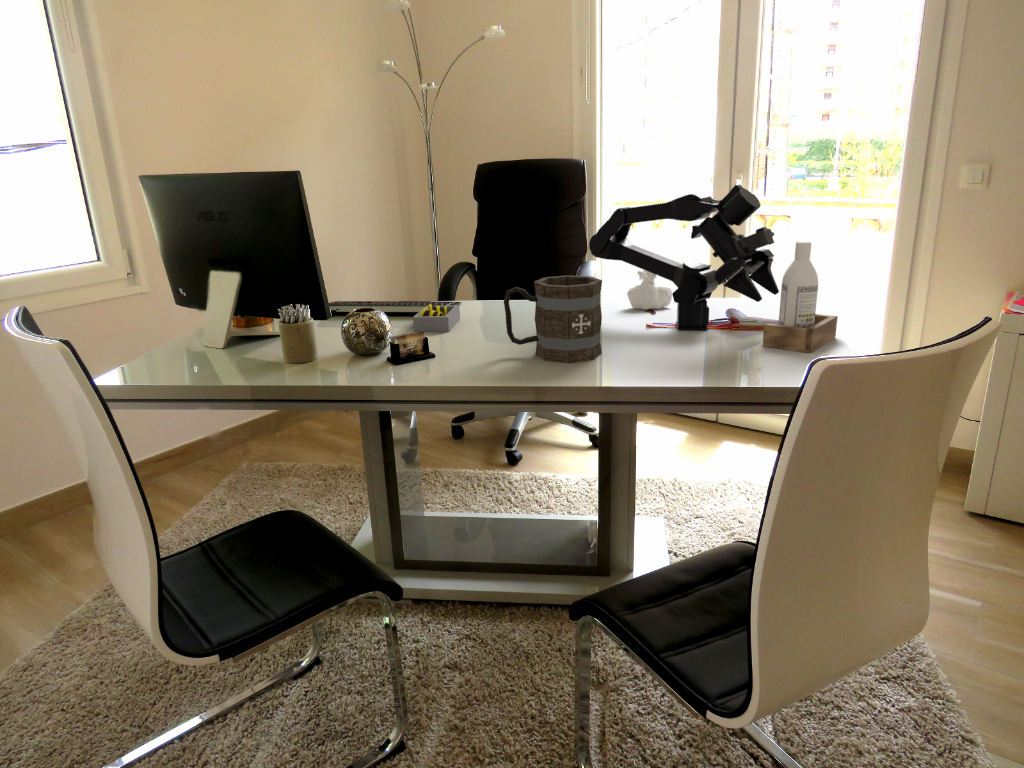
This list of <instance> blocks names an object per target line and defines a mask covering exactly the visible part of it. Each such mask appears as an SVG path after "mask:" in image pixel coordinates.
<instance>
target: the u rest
mask: <svg viewBox="0 0 1024 768" xmlns="http://www.w3.org/2000/svg"><path fill="white" fill-rule="evenodd" d="M837 325H838V315H831V314H830V315H828V314H820V313H819V314H818V313H815V322H814V326H812V327H810V328H801V327H792V326H784V325H778V324H775V323H764V324H763V334H762V336H763V337H762V344H761V345H762V347H765V348H771V349H778V350H779V349H780V350H786V351H791V352H792V351H794V352H800V353H807V354H812V353H813V352H815V351H816V350H818V349H819V348H821V347H822V346H824V345H826V344H827V343H830V342H831V341H832V340H834V339H835V338H836V335H837Z"/></svg>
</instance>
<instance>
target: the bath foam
mask: <svg viewBox="0 0 1024 768" xmlns="http://www.w3.org/2000/svg"><path fill="white" fill-rule="evenodd" d="M794 249H795V250H794V259H793V261H792V262H791V264H790V265H789V266H788V268H787V269H786V270H785V272H784V275H783V276H782V280H781V281H782V282H781V287H780V290H781V291H780V301H779V313H778V324H777V325H784V326H792V327H801V328H810V327H812V326H814V322H815V314H816V311H817V300H818V291H819V276H818V273H817V271H816V268H815V266H814V265H813V263H812V261H811V254H812V253H811V252H812V241H810V240H809V241H807V240H801V241H800V240H799V241H796V242H795V247H794Z"/></svg>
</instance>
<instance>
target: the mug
mask: <svg viewBox="0 0 1024 768" xmlns="http://www.w3.org/2000/svg"><path fill="white" fill-rule="evenodd" d="M602 284H603V280H602V279H600V278H596V277H594V276H588V275H587V276H586V275H585V276H584V275H568V274H567V275H560V276H559V275H558V276H557V275H556V276H546V277H542V278H539V279H537V280H534V281H533V285H534V287H533V288H534V292H535V295H531V294H530V293H529V292H528V291H527V290H526V289H525V288H521V287H519V286H514V287H513V288H510V289H507V290H506V293H505V295H504V299H503V306H504V313H505V326H506V333H507V336H508V338H509V339H510V341H511V342H512V343H513V344H517V345H519V346H521V345H525V344H528V343H529V344H530V343H534V342H536V345H535V346H536V347H535V356H537V357H538V358H540V359H542V360H543V361H544V362H551V363H552V362H554V363H562V364H573V363H576V364H577V363H580V362H581V363H583V362H589V361H595V360H596V359H597V358H598V357H600V356H601V355H602V344H601V340H602V339H601V338H602V337H601V336H602V334H601V333H602V332H601V331H602V319H603V315H602V304H601V302H602V299H601V296H602V295H601V293H602ZM516 292H517V293H519V294H520V295H522V296H523V297H524V298H525V299H526V300H527V301H529V302H534V303H535V309H534V322H535V323H534V324H535V330H536V331H535V332H536V335H532V336H527V337H524V338H522V339H519V338H517V337H515V335H514V333H513V324H512V319H513V318H512V312H511V310H512V309H511V306H510V298H511V295H512V294H514V293H516Z"/></svg>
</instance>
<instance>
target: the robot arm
mask: <svg viewBox="0 0 1024 768" xmlns="http://www.w3.org/2000/svg"><path fill="white" fill-rule="evenodd" d="M760 207H761V202H760V200H759V199H758V197H757V196H756V195H755V194H754V193H752V192H751V191H749V190H748V189H746V188H744V187H743V186H742V185H741V184H735V185H734V186H733V187H732V188H731V189H730V191H729V192H727V194H726V195H725V196H723V198H722V199H715V198H714V199H713V198H712V196H711V195H710V194H709V193H707V192H697V193H690V194H685V195H682V196H680V197H677V198H675V199H672V200H670V201H667V202H662V203H655V204H648V205H647V204H646V205H642V206H641V205H640V206H634V207H633V206H632V207H630V206H625V207H619V208H617V209H615V210H614V211H613V213H612V214H611V216H610V218H608V220H606V221H605V222H604V224H603V225H602V226H600V228H599V229H598V230H597V232H596V233H595V234H593V235H592V236H591V238H589V243H588V246H589V248H588V249H589V251H590V254H591V255H592V256H593V257H595V258H597V259H603V260H609V261H621V262H624V263H626V264H629V265H632V266H634V267H636V268H638V269H641V270H642V269H643V270H646V271H648V272H651V273H653V274H656V276H658V277H661V278H663V279H666V280H668V281H671V282H672V283H673V284H674V285H675V286H676V287H677V288H676V289H675V290H674V291H673V292H672V299H673V302H674V303H675V304H677V305H676V306H677V307H676V308H677V309H676V311H677V313H676V321H675V325H676V328H677V330H680V331H681V330H684V331H685V330H686V331H687V330H691V331H692V330H695V331H697V330H698V331H699V330H702V331H703V330H705V331H706V330H708V326H709V324H710V323H709V321H710V307H709V305H708V300H707V299H710V298H711V297H712V294H713V292H715V290H717V288H718V287H719V286H721V285H722V286H723V287H724V288H729V289H730V290H732V291H735V292H736V293H739V294H741V295H742V296H745V297H747V298H749V299H751V300H753V301H755V302H757V303H759V302H761V301H762V300H763V297H762V295H761V294H760V292H759V290H758V288H757V287H756V285H755V283H756V284H758V285H759V286H761V287H762V288H763V289H765V290H766V291H768V292H769V293H770V294H773V295H777V294H779V293H780V289H779V288H778V285H777V283H776V280H775V278H774V275H773V272H772V263H773V261H774V256H775V255H774V253H773V252H772V251H771V250H770V249H769V248H762V247H765V246H768V245H773V244H775V240H774V238H773V237H774V236H775V233H774V231H772V229H771V228H767V226H761V227H760V228H757V229H755V233H753V234H750V235H748V236H745V235H744V234H741V233H739V234H737V232H735V230H734V229H733V228H732V227H734V225H735V226H737V227H738V226H742V224H744V223H745V221H747V220H748V219H749V218H750V217H751V216H752V215H754V213H755V212H757V211H758V209H760ZM712 213H715V214H714V215H713V216H712V217H711V215H712ZM661 220H675V221H683V222H693V221H699V220H703V221H701V222H700V223H699V224H695V225H692V227H691V228H692V229H691V235H690V238H691V239H698V238H701V236H702V238H703V239H704V240H705V241H706V243H707V244H708V245H709V246H710V247H711V249H712V250H713V253H712V256H713V257H714V258H719V259H720V260H721V261H722V262H723V264H722V265H720V266H719V267H718V269H717V268H716V270H715V269H714V268H712V264H705V263H703V262H702V261H700V260H697V259H692V260H689V261H685V262H683V263H681V262H678V261H675V260H673V259H670V258H668V257H665V256H663V255H660V254H657V253H655V252H652V251H650V250H647V249H644V248H642V247H640V246H637V245H635V244H633V243H631V242H630V240H629V239H628V238H627V237H628V235H629V233H630V231H631V227H632V225H633V224H636V223H637V224H638V223H644V222H652V221H661ZM760 248H762V249H760ZM757 249H758V250H757Z"/></svg>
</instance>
